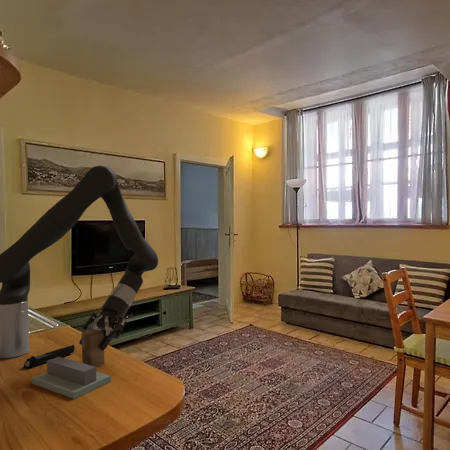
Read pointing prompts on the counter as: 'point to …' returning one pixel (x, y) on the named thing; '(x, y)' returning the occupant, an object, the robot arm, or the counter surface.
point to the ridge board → (69, 385)
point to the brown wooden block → (92, 348)
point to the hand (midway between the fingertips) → (90, 347)
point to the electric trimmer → (48, 356)
